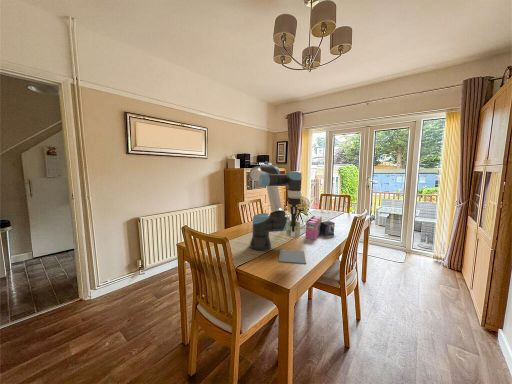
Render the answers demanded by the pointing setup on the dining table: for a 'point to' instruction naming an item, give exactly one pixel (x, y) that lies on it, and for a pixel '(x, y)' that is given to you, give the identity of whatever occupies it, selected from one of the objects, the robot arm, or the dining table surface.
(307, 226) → the gum box
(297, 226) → the wooden block
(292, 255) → the mat
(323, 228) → the small box
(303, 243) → the dining table surface
